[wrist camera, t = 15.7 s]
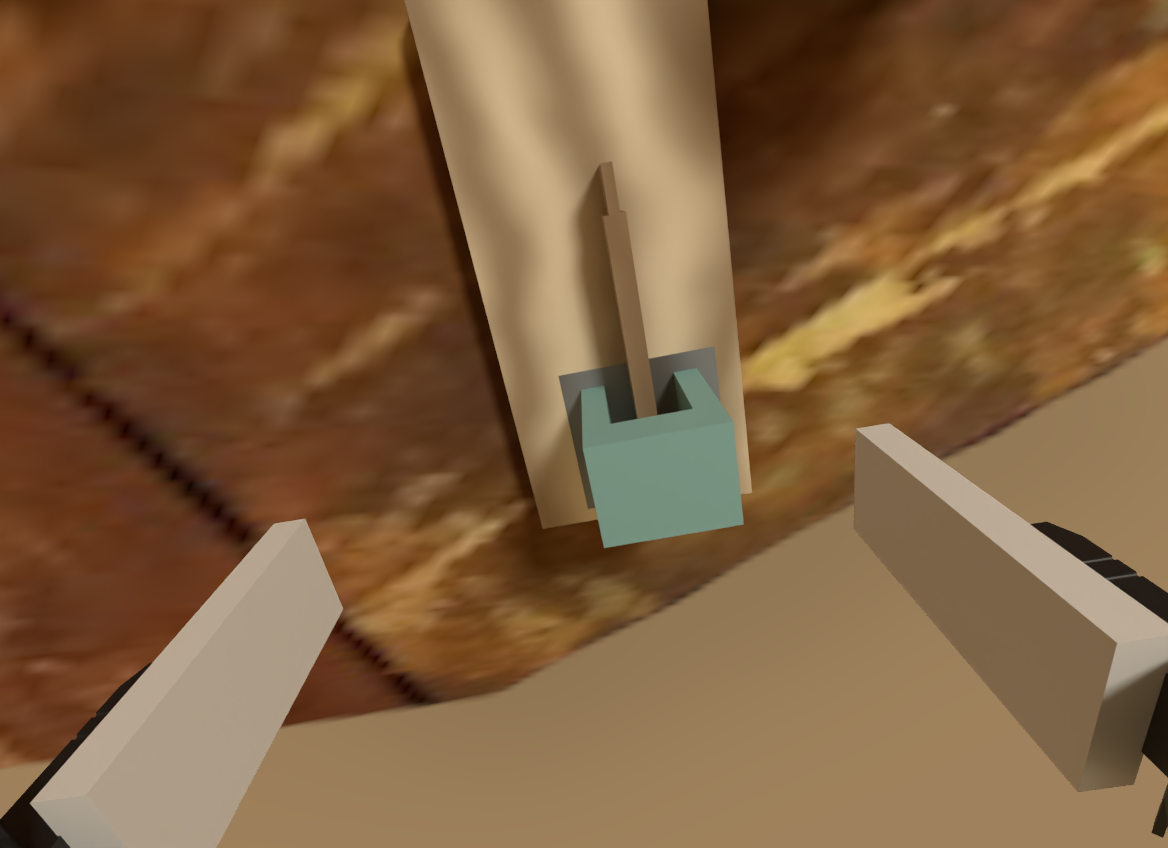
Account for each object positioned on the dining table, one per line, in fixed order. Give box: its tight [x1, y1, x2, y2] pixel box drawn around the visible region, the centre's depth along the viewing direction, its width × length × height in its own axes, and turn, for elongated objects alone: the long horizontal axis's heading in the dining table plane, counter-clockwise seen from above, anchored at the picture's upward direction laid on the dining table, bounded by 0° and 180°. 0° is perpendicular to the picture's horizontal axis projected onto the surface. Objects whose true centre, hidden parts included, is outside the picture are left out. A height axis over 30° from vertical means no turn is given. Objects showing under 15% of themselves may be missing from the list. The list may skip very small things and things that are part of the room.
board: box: [404, 0, 752, 529], centre depth 33 cm, size 15×32×5 cm, turn 11°
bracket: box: [581, 368, 743, 548], centre depth 33 cm, size 8×6×9 cm
